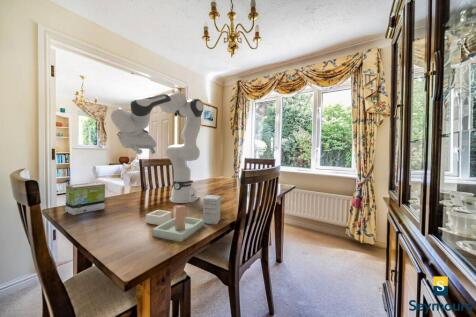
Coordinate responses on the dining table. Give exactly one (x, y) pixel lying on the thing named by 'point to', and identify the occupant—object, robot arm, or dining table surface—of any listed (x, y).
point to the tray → (170, 233)
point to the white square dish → (158, 217)
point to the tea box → (85, 197)
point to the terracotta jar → (180, 217)
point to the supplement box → (211, 209)
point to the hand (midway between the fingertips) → (147, 153)
